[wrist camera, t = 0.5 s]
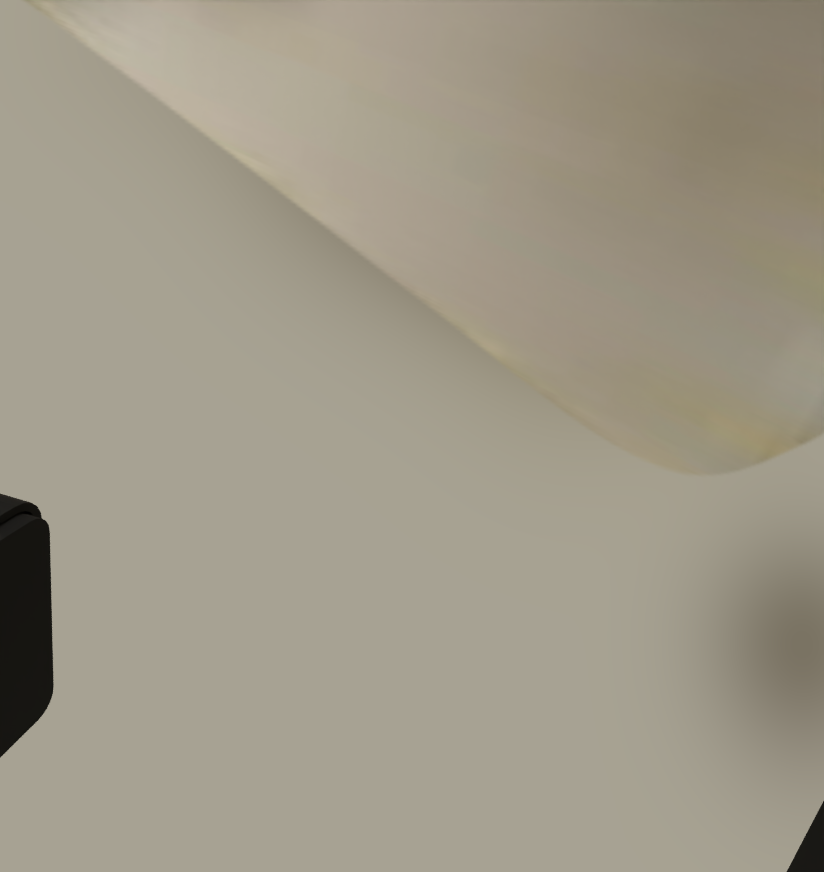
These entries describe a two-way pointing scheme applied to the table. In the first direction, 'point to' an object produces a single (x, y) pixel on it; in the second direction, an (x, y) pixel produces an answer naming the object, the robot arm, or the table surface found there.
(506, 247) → the table surface
